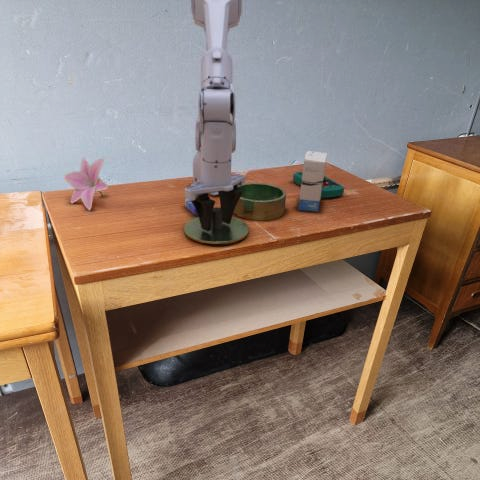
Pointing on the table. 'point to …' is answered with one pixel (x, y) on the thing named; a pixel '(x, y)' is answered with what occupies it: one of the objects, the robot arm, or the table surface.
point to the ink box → (312, 181)
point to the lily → (86, 182)
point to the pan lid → (217, 230)
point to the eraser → (190, 207)
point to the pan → (260, 202)
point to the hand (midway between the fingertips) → (216, 225)
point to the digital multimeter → (328, 187)
